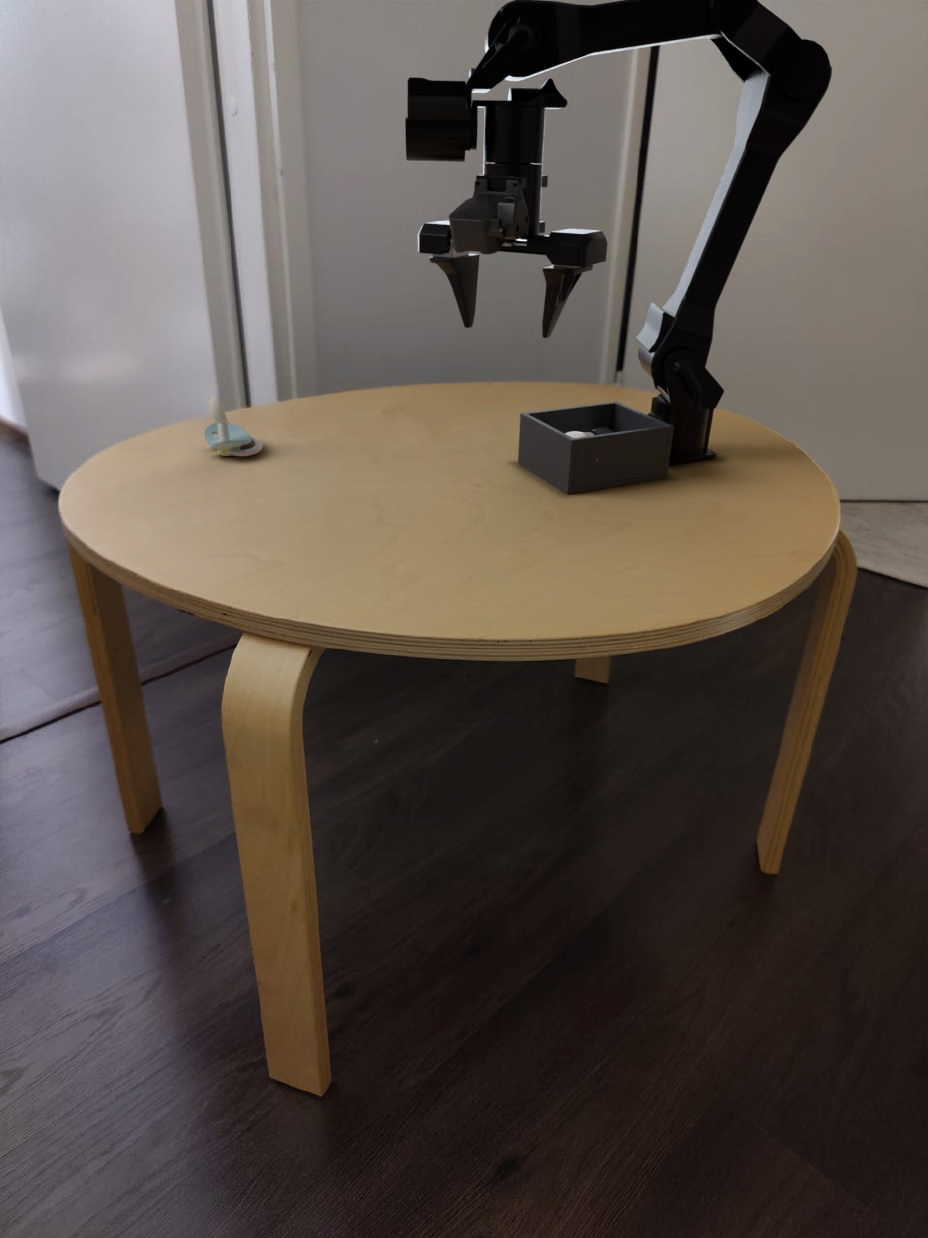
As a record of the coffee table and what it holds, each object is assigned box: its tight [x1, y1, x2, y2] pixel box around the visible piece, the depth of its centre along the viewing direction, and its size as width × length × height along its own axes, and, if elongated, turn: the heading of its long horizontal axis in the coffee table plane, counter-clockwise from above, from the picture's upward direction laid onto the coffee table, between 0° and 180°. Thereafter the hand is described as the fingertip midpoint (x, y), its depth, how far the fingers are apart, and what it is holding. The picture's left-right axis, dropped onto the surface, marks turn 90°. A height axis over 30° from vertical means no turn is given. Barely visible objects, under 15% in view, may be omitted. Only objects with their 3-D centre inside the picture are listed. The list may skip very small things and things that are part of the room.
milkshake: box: [565, 425, 613, 461], centre depth 90 cm, size 4×5×10 cm
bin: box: [517, 401, 674, 495], centre depth 90 cm, size 12×10×6 cm
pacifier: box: [203, 394, 263, 457], centre depth 94 cm, size 7×6×6 cm
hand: (506, 332), depth 90 cm, fingers open, 9 cm apart
